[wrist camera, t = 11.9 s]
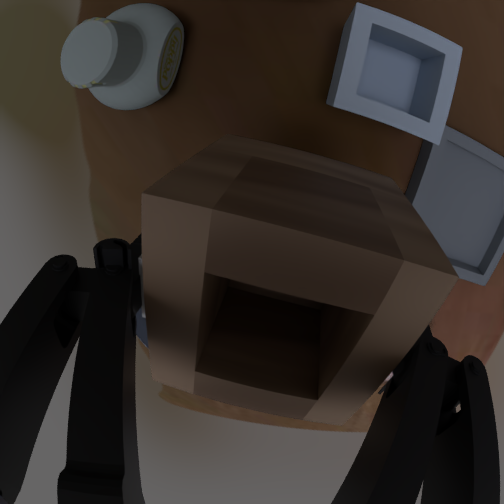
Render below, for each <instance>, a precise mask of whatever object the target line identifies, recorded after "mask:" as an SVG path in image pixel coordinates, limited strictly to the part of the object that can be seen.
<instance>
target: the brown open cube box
mask: <svg viewBox="0 0 504 504" xmlns="http://www.w3.org/2000/svg"><path fill="white" fill-rule="evenodd" d="M141 233H142V270H143V289H144V304H145V317H146V328H147V338H148V347H149V356H150V364H151V371H152V378H153V380H154V381H157V382H159V383H162V384H165V385H168V386H171V387H174V388H177V389H180V390H183V391H186V392H189V393H192V394H195V395H199V396H202V397H205V398H209V399H212V400H216V401H219V402H223V403H227V404H230V405H234V406H238V407H242V408H246V409H251V410H255V411H259V412H264V413H268V414H273V415H278V416H283V417H289V418H294V419H300V420H306V421H312V422H319V423H326V424H333V425H341V426H342V425H343V424H344V423H345V422H346V421H347V420H348V419H349V418H350V417H351V416H352V415H353V414H354V413H355V412H356V411H357V410H358V409H359V408H360V407H361V406H362V405H363V404H364V403H365V402H366V401H367V399H368V398H369V397H370V396H371V395H372V394H373V393H374V392H375V391H376V390H377V389H378V387H379V386H380V385H381V384H382V383H383V382H384V381H385V379H386V378H387V377H388V376H389V375H390V374H391V372H392V371H393V370H394V369H395V368H396V366H397V365H398V364H399V363H400V362H401V360H402V359H403V358H404V357H405V355H406V354H407V353H408V351H409V350H410V349H411V348H412V346H413V345H414V344H415V342H416V341H417V340H418V338H419V337H420V336H421V334H422V333H423V331H424V330H425V329H426V327H427V326H428V325H429V323H430V322H431V320H432V319H433V317H434V316H435V314H436V313H437V311H438V310H439V308H440V307H441V305H442V304H443V302H444V301H445V299H446V298H447V296H448V295H449V293H450V291H451V290H452V288H453V287H454V285H455V283H456V282H457V280H458V278H459V276H458V274H457V273H456V271H455V269H454V268H453V266H452V264H451V263H450V261H449V259H448V258H447V256H446V254H445V253H444V251H443V250H442V248H441V246H440V245H439V243H438V242H437V240H436V239H435V237H434V236H433V234H432V233H431V231H430V230H429V228H428V227H427V225H426V224H425V222H424V221H423V220H422V218H421V217H420V215H419V214H418V213H417V211H416V210H415V208H414V207H413V206H412V204H411V203H410V202H409V200H408V199H407V197H406V196H405V195H404V194H403V192H402V191H401V190H400V188H399V187H398V186H397V184H396V183H395V182H394V181H393V179H392V178H390V177H387V176H384V175H381V174H378V173H375V172H372V171H369V170H366V169H363V168H360V167H357V166H354V165H351V164H347V163H344V162H341V161H337V160H334V159H331V158H327V157H324V156H320V155H316V154H313V153H309V152H305V151H301V150H298V149H294V148H290V147H286V146H281V145H277V144H273V143H269V142H264V141H260V140H255V139H251V138H246V137H241V136H236V135H231V134H227V135H225V136H224V137H222V138H220V139H219V140H217V141H216V142H214V143H213V144H211V145H209V146H208V147H206V148H205V149H203V150H202V151H200V152H199V153H197V154H196V155H194V156H193V157H191V158H190V159H188V160H187V161H185V162H184V163H183V164H181V165H180V166H178V167H177V168H175V169H174V170H172V171H171V172H170V173H168V174H167V175H165V176H164V177H163V178H161V179H160V180H159V181H157V182H156V183H154V184H153V185H152V186H150V187H149V188H148V189H146V190H145V191H144V192H142V209H141Z"/></svg>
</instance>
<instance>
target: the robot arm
mask: <svg viewBox="0 0 504 504" xmlns="http://www.w3.org/2000/svg"><path fill="white" fill-rule="evenodd" d="M93 251H94V259H95V266H96V268H82V267H78V266H77V260H76V259H75V258H74V257H73V256H70V255H58V256H55V257H53V258H51V259H50V260H48V262H46V263H45V265H44V266H43V267H42V268H41V270H40V271H39V272H38V273H37V275H36V276H35V277H34V278H33V280H32V281H31V282H30V284H29V285H28V286H27V288H26V289H25V290H24V292H23V293H22V294H21V296H20V297H19V298H18V300H17V301H16V303H15V304H14V305H13V307H12V308H11V310H10V311H9V312H8V314H7V315H6V317H5V318H4V320H3V321H2V323H1V324H0V504H14V502H15V500H16V498H17V496H18V494H19V492H20V490H21V486H22V484H23V480H24V478H25V474H26V471H27V467H28V464H29V460H30V457H31V454H32V451H33V448H34V444H35V442H36V439H37V436H38V433H39V430H40V427H41V425H42V422H43V419H44V416H45V414H46V411H47V409H48V406H49V403H50V401H51V399H52V396H53V393H54V391H55V389H56V386H57V384H58V382H59V379H60V377H61V375H62V373H63V370H64V368H65V366H66V363H67V361H68V359H69V357H70V355H71V353H72V350H73V348H74V346H75V344H76V342H77V340H78V338H79V336H80V338H79V343H78V349H77V354H76V361H75V367H74V374H73V381H72V389H71V397H70V407H69V419H68V432H67V459H66V466H65V469H64V470H63V471H62V472H61V473H60V475H59V478H58V485H57V495H58V504H145V501H144V497H143V494H142V488H141V480H140V471H139V459H138V446H137V430H136V407H135V406H136V404H135V355H136V354H135V353H136V327H137V320H136V314H137V312H138V311H139V309H140V308H141V309H142V317H144V318H146V317H145V304H144V289H143V270H142V233H141V234H140V235H139V236H138V238H136V239H135V240H134V241H133V243H131V244H129V243H128V242H127V241H125V240H122V239H117V238H110V239H105V240H102V241H100V242H99V243H97V244H96V245H95V247H94V248H93ZM392 373H393V376H392V377H391V378H390V379H389V381H388V382H387V383H386V384H385V385H384V386H383V387H382V388H381V390H380V391H379V392H378V394H381V393H382V392H383V391H384V393H383V396H382V398H381V401H380V404H379V406H378V409H377V411H376V414H375V416H374V419H373V421H372V423H371V426H370V428H369V430H368V433H367V435H366V437H365V439H364V442H363V444H362V446H361V448H360V450H359V453H358V454H357V456H356V458H355V461H354V463H353V465H352V467H351V469H350V471H349V472H348V474H347V476H346V478H345V480H344V482H343V484H342V485H341V487H340V489H339V491H338V493H337V494H336V496H335V498H334V500H333V501H332V503H331V504H415V502H416V500H417V497H418V494H419V491H420V488H421V485H422V482H423V489H422V498H421V504H500V467H499V450H498V439H497V431H496V422H495V415H494V408H493V402H492V397H491V392H490V387H489V381H488V376H487V372H486V369H485V366H484V365H483V363H482V362H481V361H480V360H479V359H478V358H476V357H474V356H472V355H468V356H466V357H465V358H464V359H463V360H462V361H461V362H459V361H457V360H455V359H453V358H450V357H448V351H447V349H446V347H445V345H444V344H443V343H442V342H441V341H440V340H438V339H437V338H434V337H433V336H432V333H431V330H430V327H429V325H428V326H427V327H426V329H425V330H424V331H423V333H422V334H421V336H420V337H419V338H418V340H417V341H416V342H415V344H414V345H413V346H412V348H411V349H410V350H409V351H408V353H407V354H406V355H405V357H404V358H403V359H402V360H401V362H400V363H399V364H398V365H397V366H396V368H395V369H394V370H393V371H392ZM458 404H460V407H461V410H460V411H459V412H457V413H456V407H457V406H458Z"/></svg>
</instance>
